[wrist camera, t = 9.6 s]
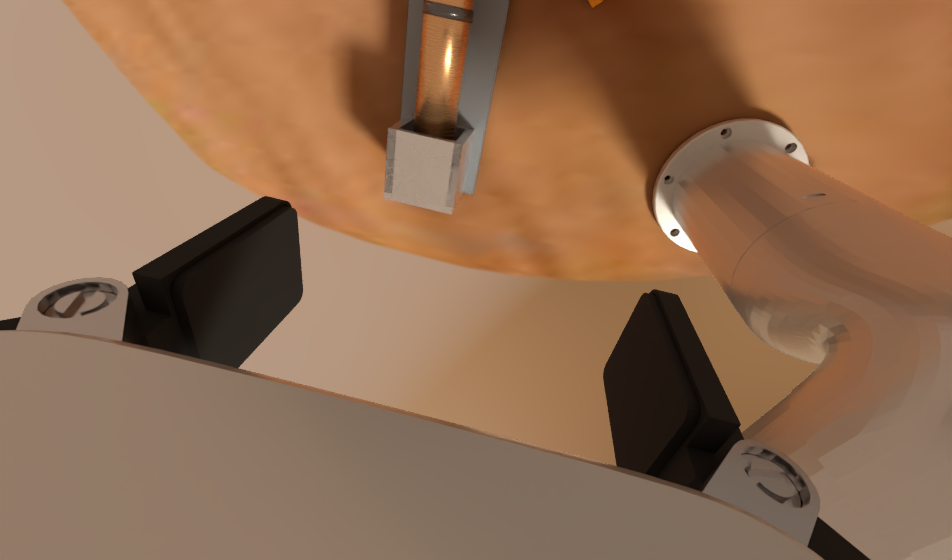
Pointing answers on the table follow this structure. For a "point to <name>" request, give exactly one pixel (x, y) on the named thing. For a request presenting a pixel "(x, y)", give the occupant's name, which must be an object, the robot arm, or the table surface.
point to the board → (477, 72)
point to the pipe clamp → (594, 2)
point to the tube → (442, 65)
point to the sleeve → (426, 166)
